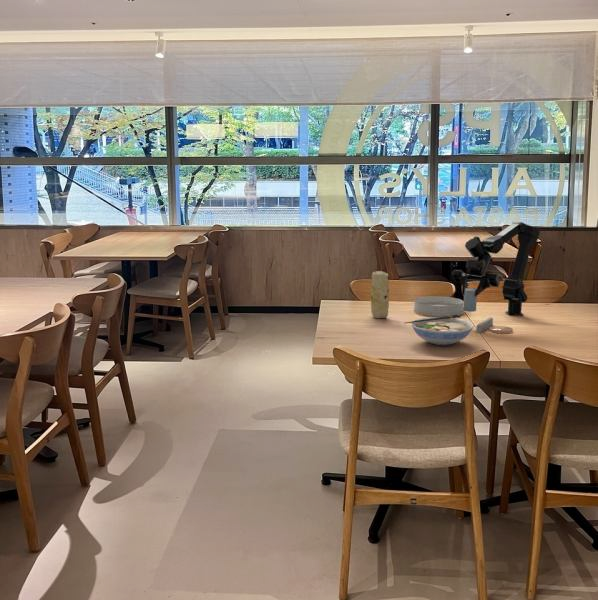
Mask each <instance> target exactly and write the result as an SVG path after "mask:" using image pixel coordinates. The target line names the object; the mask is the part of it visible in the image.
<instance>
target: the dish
mask: <svg viewBox="0 0 598 600" xmlns="http://www.w3.org/2000/svg"><path fill="white" fill-rule="evenodd" d="M413 305H414V306H413V311H414V313H416V314H418V313H419V315H423V316H429V317H443V316H450V315H456V314H457V315H460V316H461V315H463V314H464V312H465V311H464V299H463V300H462V299H461V298H456V297H451V296H440V295H439V296H438V295H437V296H436V295H435V296H434V295H433V296H432V295H431V296H421V297H418V298H415V299H414V304H413Z"/></svg>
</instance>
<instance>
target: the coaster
mask: <svg viewBox="0 0 598 600" xmlns="http://www.w3.org/2000/svg"><path fill="white" fill-rule="evenodd" d="M488 331H489V332H490V333H494V332H495V333H494V334H503V333H504V334H511V333H510V332H512V331H513V332H514V329H513V328H512V327H510V326H509V327H508V326H505V325H504V326H503V325H495V326H493V325H492V326H490V327H488ZM513 332H512V333H513Z"/></svg>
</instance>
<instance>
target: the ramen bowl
mask: <svg viewBox="0 0 598 600" xmlns="http://www.w3.org/2000/svg"><path fill="white" fill-rule="evenodd" d="M461 317H462V316H461V315H457V314H456V315H450V316H430V317H421V318H417V319H413V320H411V321H407V322H405V321H404V324H411V327H412V329H413V330H414V332H415V334H416V335H417V336H418V338H419V337H420V338H421V340H424V341H426V342H428V343H431V344H432V345H434V344H435V346H440V345H443V346H442V347H444V346H445V345H446V346H450V345H452V344H456V343H459V342H461V341H462V340H464V339H466V338H467V337H468V335H470V333H471V332H472V331H473V330H474V327H475V326H474V324H473V322H470V321H468V320H464V319H460V318H461Z"/></svg>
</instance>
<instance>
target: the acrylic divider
mask: <svg viewBox="0 0 598 600" xmlns="http://www.w3.org/2000/svg"><path fill="white" fill-rule="evenodd" d="M493 321H494V317H488V318H486V319H485V320H482V322H480V323H478V324H477V325H476V333H477V334H480V333H482V332H484V331H485V330H487V329H489V328H490V327H493V323H494V322H493Z"/></svg>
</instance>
